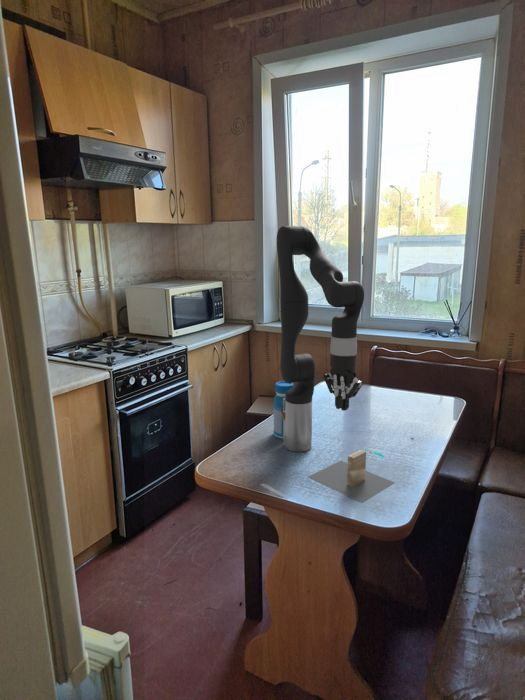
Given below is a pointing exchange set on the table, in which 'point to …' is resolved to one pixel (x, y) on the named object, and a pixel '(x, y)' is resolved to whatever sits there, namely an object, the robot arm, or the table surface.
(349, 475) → the maple picture frame
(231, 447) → the table surface
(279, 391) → the beverage bottle
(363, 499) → the rubber mat
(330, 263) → the robot arm
